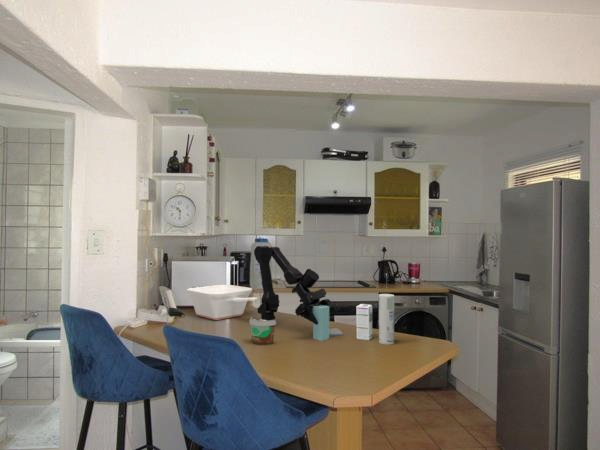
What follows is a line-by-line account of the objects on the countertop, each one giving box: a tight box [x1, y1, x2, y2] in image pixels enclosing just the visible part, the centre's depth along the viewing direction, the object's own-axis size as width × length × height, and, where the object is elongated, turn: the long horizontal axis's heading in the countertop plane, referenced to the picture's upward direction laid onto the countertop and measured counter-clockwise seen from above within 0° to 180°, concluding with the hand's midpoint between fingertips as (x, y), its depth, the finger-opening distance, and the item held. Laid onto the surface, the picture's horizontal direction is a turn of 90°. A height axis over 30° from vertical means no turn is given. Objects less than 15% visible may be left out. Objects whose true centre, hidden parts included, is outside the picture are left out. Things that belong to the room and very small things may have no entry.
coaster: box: [329, 327, 344, 337], centre depth 190 cm, size 10×10×1 cm
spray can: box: [378, 293, 395, 345], centre depth 175 cm, size 6×6×20 cm
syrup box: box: [355, 303, 374, 341], centre depth 182 cm, size 6×6×14 cm
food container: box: [248, 316, 277, 346], centre depth 172 cm, size 12×6×10 cm, turn 62°
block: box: [312, 305, 330, 342], centre depth 181 cm, size 5×5×14 cm
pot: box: [186, 284, 258, 321], centre depth 220 cm, size 29×44×15 cm, turn 47°
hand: (323, 322), depth 180 cm, fingers open, 8 cm apart
